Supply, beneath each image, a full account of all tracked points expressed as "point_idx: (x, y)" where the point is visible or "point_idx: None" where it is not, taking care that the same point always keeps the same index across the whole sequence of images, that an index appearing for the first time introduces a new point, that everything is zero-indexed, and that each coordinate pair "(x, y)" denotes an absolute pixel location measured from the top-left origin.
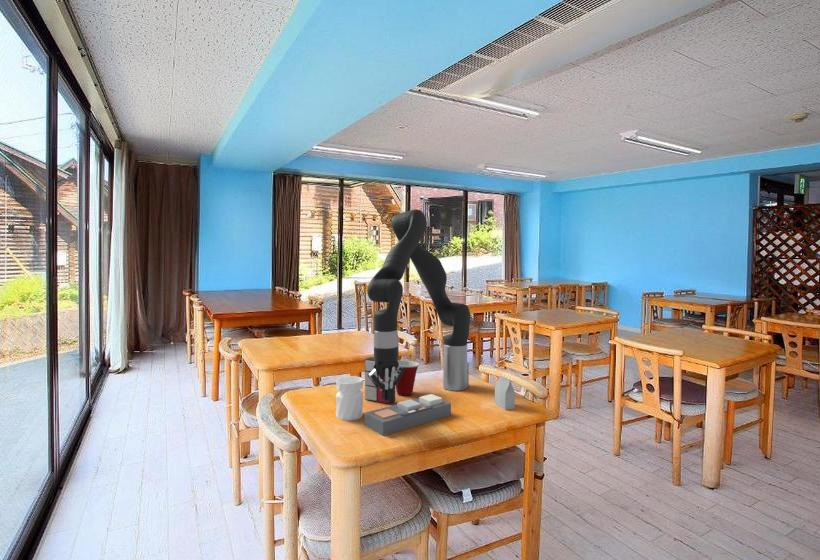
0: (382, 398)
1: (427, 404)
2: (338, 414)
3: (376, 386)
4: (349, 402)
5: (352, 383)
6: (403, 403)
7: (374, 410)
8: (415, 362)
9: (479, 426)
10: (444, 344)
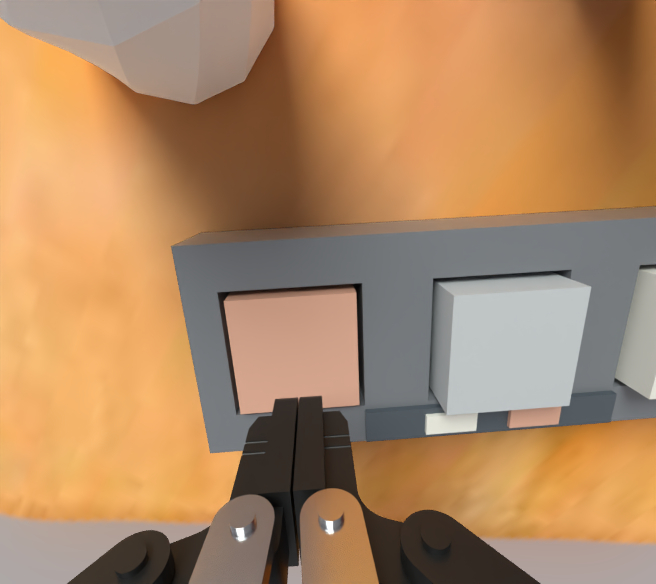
0: (258, 418)
1: (627, 362)
2: None
3: (112, 564)
4: (44, 40)
5: None
6: (479, 337)
7: (260, 247)
8: None
9: (633, 519)
10: None
